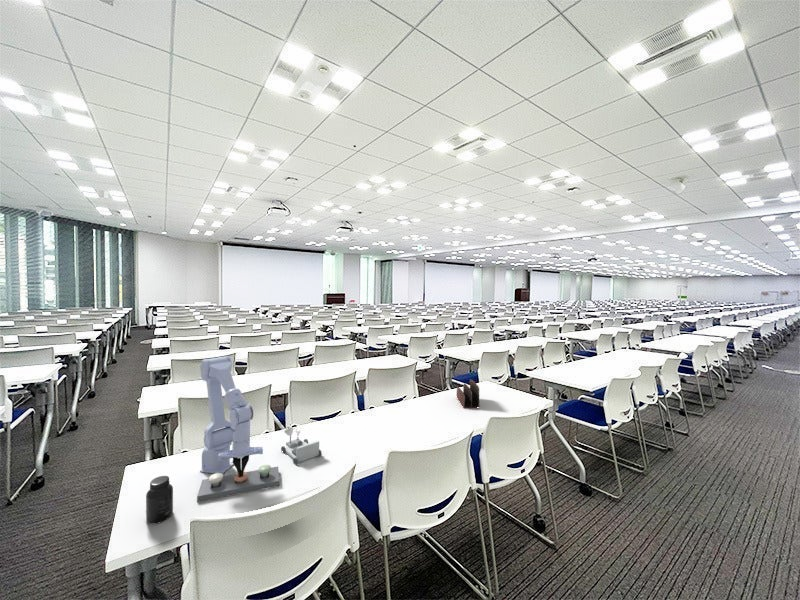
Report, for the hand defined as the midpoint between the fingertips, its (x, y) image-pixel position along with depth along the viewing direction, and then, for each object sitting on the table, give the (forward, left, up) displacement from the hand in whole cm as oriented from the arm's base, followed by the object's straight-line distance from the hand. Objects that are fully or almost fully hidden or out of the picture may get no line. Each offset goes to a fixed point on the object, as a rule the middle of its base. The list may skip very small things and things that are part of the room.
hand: (241, 475), depth 120 cm
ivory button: (-7, -4, -2) cm, 8 cm away
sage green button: (+7, +4, -2) cm, 8 cm away
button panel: (0, 0, -4) cm, 4 cm away
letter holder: (+90, +105, -4) cm, 138 cm away
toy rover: (+11, +26, -4) cm, 29 cm away
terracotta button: (0, 0, -3) cm, 3 cm away
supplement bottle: (-15, -19, -4) cm, 25 cm away
